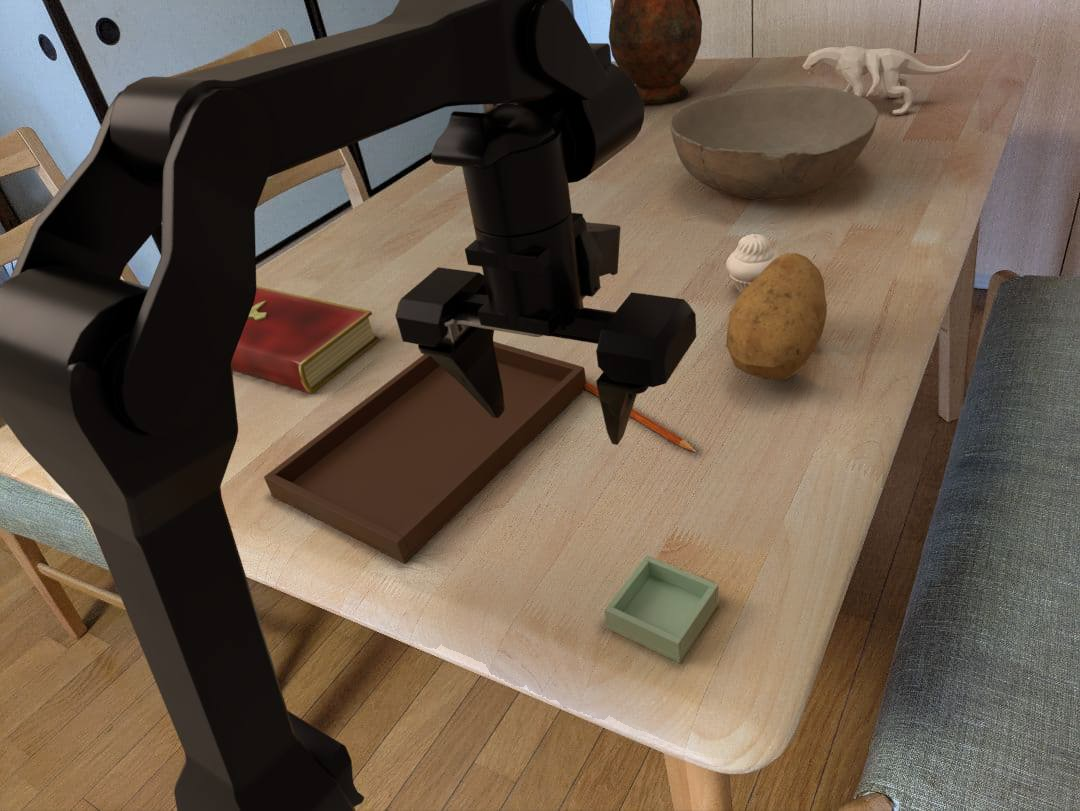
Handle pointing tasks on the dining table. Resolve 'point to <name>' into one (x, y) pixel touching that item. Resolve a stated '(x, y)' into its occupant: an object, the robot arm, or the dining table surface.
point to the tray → (421, 449)
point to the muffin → (750, 260)
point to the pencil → (649, 423)
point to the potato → (778, 318)
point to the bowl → (773, 139)
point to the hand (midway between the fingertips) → (556, 427)
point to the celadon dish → (662, 608)
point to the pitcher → (656, 45)
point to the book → (300, 339)
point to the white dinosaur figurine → (876, 69)
